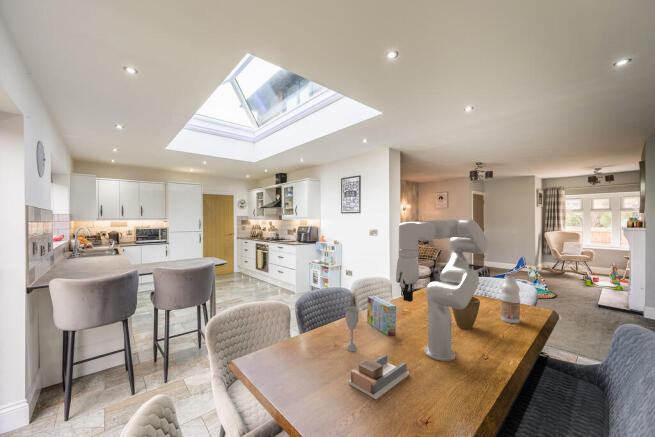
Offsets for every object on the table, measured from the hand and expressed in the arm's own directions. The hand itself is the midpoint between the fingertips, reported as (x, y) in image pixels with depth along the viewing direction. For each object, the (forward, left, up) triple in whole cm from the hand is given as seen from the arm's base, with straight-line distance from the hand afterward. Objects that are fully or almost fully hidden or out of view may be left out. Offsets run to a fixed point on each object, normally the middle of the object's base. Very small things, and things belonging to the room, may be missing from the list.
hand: (408, 300), depth 108 cm
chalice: (+2, -27, -27) cm, 38 cm away
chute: (+13, -4, -27) cm, 30 cm away
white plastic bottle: (-94, +14, -27) cm, 99 cm away
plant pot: (-64, -1, -27) cm, 70 cm away
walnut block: (+19, -4, -26) cm, 32 cm away
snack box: (-28, -32, -27) cm, 51 cm away
